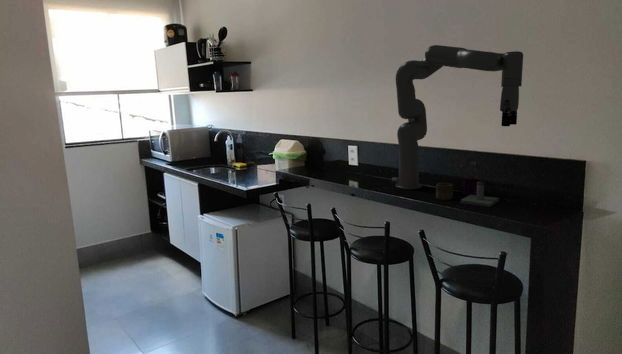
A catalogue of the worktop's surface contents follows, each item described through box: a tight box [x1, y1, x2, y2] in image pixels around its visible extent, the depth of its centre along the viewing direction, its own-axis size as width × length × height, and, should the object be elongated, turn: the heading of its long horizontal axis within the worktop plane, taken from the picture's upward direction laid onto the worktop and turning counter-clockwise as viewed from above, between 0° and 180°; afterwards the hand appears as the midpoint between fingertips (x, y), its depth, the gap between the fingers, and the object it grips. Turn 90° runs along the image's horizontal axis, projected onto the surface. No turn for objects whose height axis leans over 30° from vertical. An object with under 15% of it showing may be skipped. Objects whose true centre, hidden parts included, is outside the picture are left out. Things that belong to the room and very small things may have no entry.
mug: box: [458, 178, 481, 197], centre depth 197 cm, size 7×10×7 cm
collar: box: [435, 182, 454, 201], centre depth 192 cm, size 7×7×6 cm
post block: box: [459, 181, 500, 208], centre depth 183 cm, size 12×12×8 cm
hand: (509, 125), depth 182 cm, fingers open, 9 cm apart
